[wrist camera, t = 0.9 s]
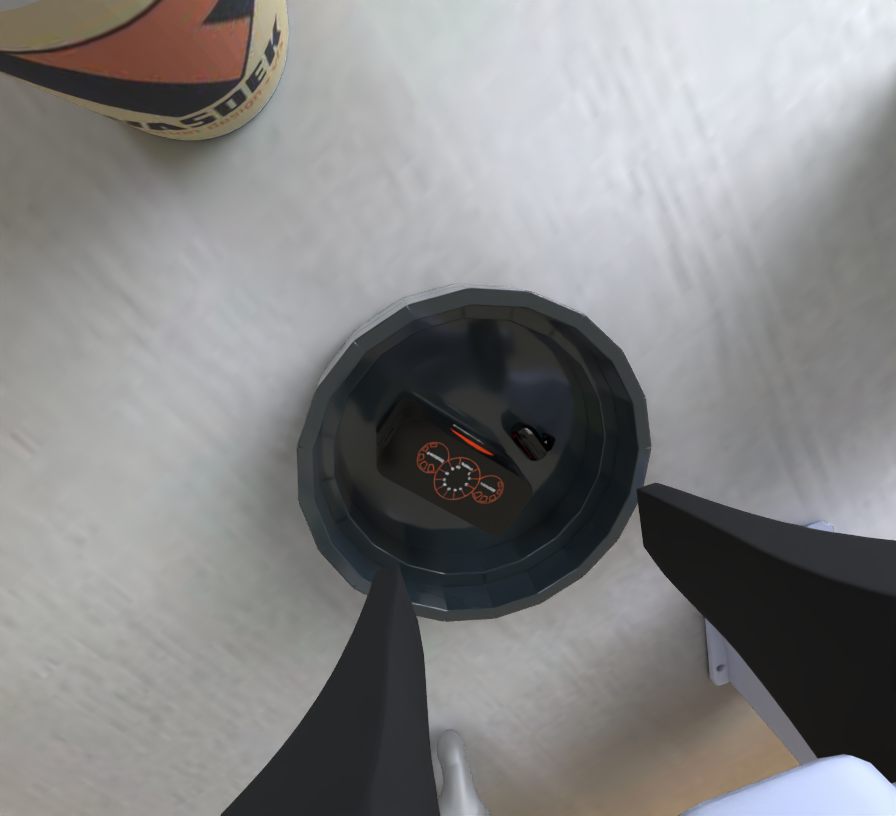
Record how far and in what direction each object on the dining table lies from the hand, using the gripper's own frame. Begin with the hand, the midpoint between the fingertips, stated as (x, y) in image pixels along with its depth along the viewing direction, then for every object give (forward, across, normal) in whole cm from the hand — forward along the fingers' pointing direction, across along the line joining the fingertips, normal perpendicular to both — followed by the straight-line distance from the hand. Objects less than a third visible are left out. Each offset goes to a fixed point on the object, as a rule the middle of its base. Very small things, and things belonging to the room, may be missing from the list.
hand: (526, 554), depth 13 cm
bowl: (+9, 0, 0) cm, 9 cm away
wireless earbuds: (+9, 0, 0) cm, 9 cm away
